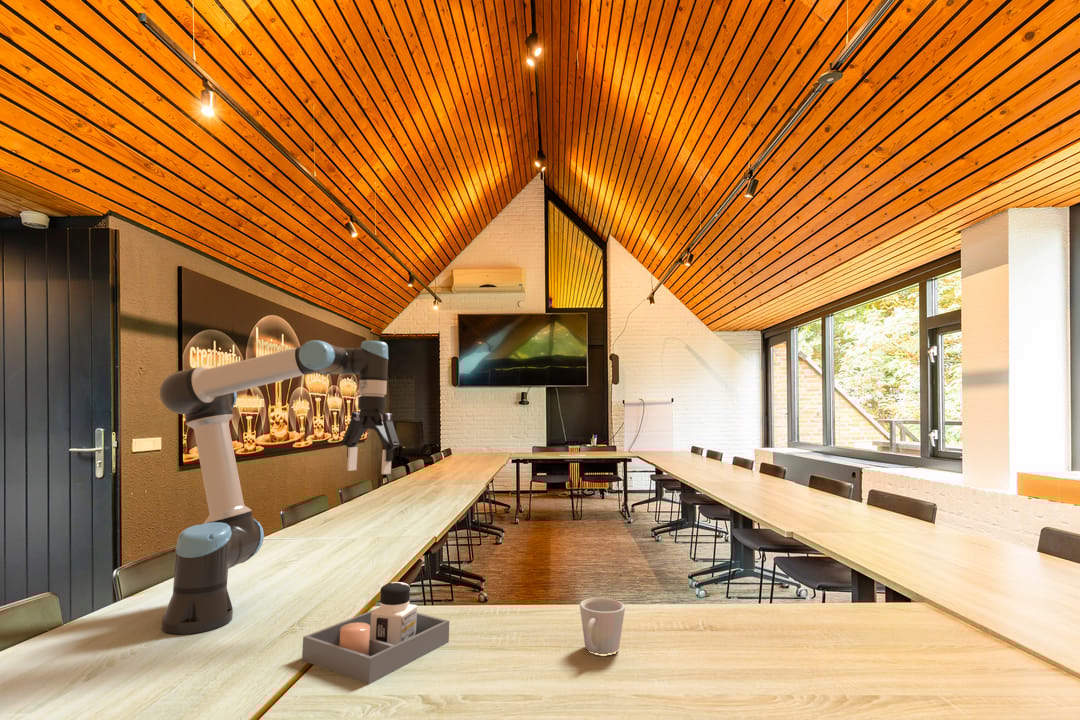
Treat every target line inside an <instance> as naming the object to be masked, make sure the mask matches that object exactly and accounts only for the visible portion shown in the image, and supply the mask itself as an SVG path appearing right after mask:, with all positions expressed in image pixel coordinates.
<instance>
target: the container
mask: <svg viewBox="0 0 1080 720" xmlns="http://www.w3.org/2000/svg"><path fill="white" fill-rule="evenodd" d="M410 595H411V587H410V585H409V584H408V583H405V582H402V581H401V582H400V581H394V582H393V581H391V582H389V583H388V582H387V583H385V584H384V585H382V586H381V587H380V598H379V599H380V600H379V606H380V607H378V609H377V608H375V609H376V610H374V609H373V610H374V611H373V612H372V613H371V626H370V638H372V639H376V640H379V641H382V642H386V643H389V644H392V645H396V644H398V643H400V642H402V641H404V640H406V639H408V638H410V637H412V636H415V635H416V620H417V613H418V606H417V604H411V603H410V600H411V599H410V598H411V597H410Z"/></svg>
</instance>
